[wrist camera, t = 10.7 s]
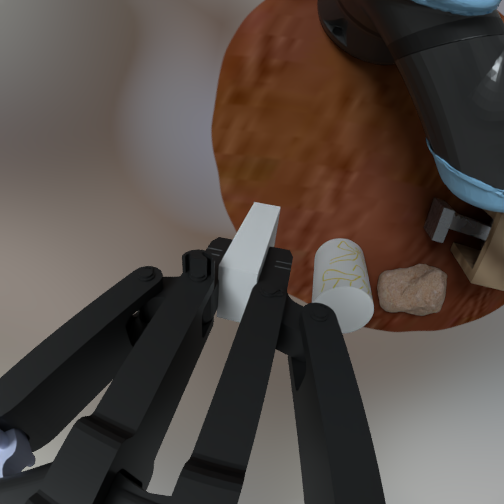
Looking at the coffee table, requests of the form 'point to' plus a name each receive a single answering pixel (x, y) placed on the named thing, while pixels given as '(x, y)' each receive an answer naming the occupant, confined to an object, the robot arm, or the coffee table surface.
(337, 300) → the cup
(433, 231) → the grey square dumbbell
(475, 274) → the tunnel
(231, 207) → the coffee table surface
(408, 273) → the stone
